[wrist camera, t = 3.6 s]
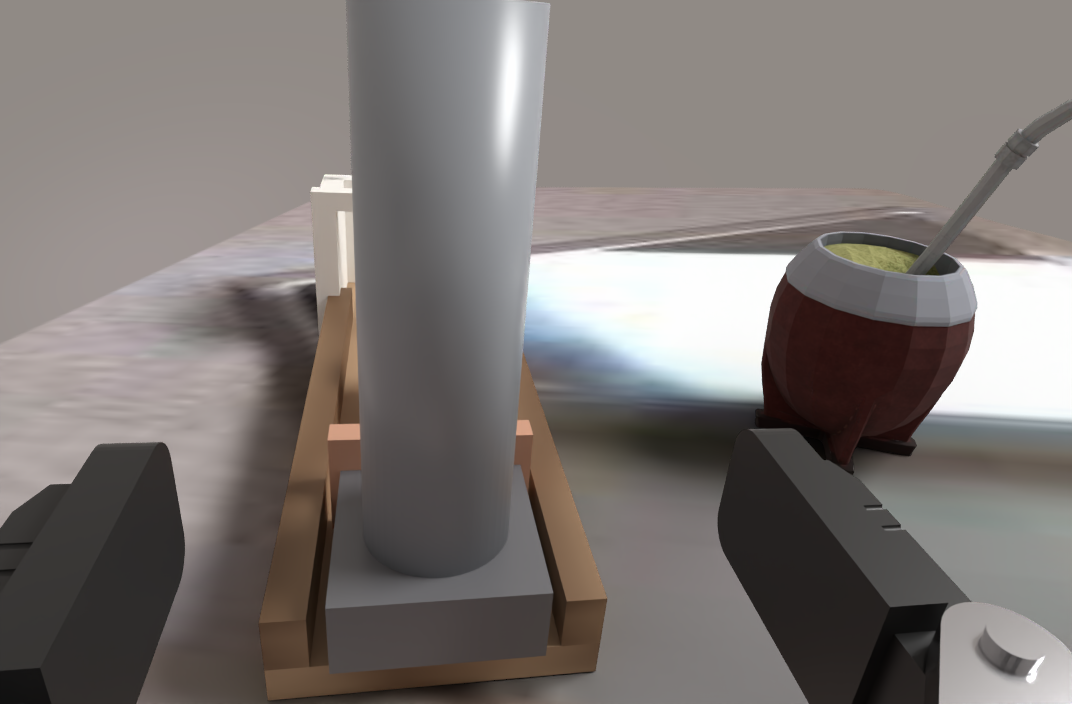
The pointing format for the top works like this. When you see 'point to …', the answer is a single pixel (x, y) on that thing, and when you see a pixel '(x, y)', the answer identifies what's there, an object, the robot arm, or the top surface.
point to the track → (307, 539)
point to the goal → (332, 238)
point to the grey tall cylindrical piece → (439, 340)
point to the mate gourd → (876, 326)
